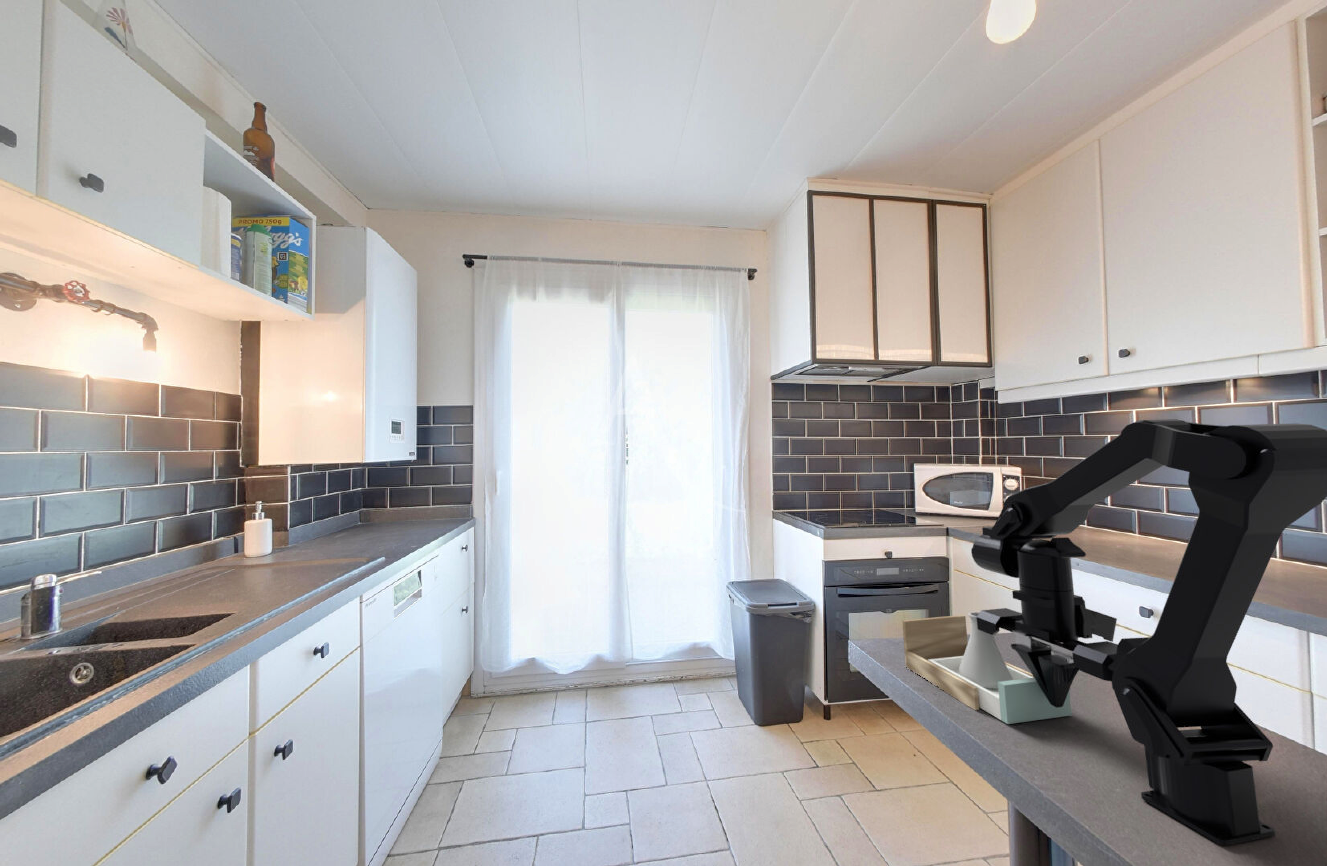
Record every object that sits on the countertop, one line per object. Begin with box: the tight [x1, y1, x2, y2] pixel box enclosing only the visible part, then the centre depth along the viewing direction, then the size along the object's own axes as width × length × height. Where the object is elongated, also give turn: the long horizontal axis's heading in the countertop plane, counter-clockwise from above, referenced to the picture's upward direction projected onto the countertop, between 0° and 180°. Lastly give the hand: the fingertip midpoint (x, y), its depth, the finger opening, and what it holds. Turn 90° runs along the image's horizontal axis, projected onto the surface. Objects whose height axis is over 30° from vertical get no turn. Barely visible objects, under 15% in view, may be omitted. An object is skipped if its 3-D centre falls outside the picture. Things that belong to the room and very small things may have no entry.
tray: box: [928, 656, 1073, 725], centre depth 71 cm, size 15×10×5 cm
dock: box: [901, 614, 1034, 711], centre depth 75 cm, size 15×12×8 cm
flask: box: [958, 611, 1013, 689], centre depth 73 cm, size 7×7×10 cm
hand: (1056, 706), depth 62 cm, fingers closed
